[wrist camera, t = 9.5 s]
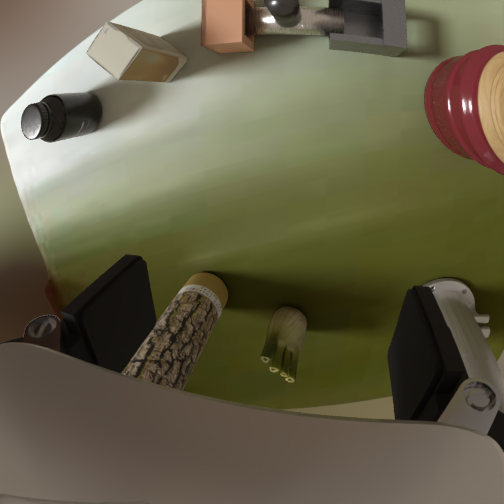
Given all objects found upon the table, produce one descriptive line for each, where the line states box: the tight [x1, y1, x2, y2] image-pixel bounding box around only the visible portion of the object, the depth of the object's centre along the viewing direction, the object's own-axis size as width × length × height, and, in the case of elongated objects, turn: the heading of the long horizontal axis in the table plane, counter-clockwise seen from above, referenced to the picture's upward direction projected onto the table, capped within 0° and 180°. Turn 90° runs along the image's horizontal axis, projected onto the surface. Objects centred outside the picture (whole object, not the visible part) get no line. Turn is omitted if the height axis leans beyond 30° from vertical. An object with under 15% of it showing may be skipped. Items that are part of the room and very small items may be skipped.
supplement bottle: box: [21, 93, 102, 143], centre depth 35 cm, size 7×7×12 cm
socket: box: [201, 0, 254, 53], centre depth 29 cm, size 4×7×6 cm, turn 179°
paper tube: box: [121, 272, 228, 391], centre depth 38 cm, size 7×7×25 cm
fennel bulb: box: [261, 307, 307, 383], centre depth 42 cm, size 6×5×12 cm
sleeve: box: [329, 0, 407, 57], centre depth 26 cm, size 8×6×6 cm
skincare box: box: [86, 22, 188, 83], centre depth 30 cm, size 6×4×12 cm
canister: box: [424, 45, 504, 175], centre depth 21 cm, size 13×13×18 cm
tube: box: [245, 0, 344, 36], centre depth 25 cm, size 12×4×10 cm, turn 89°
